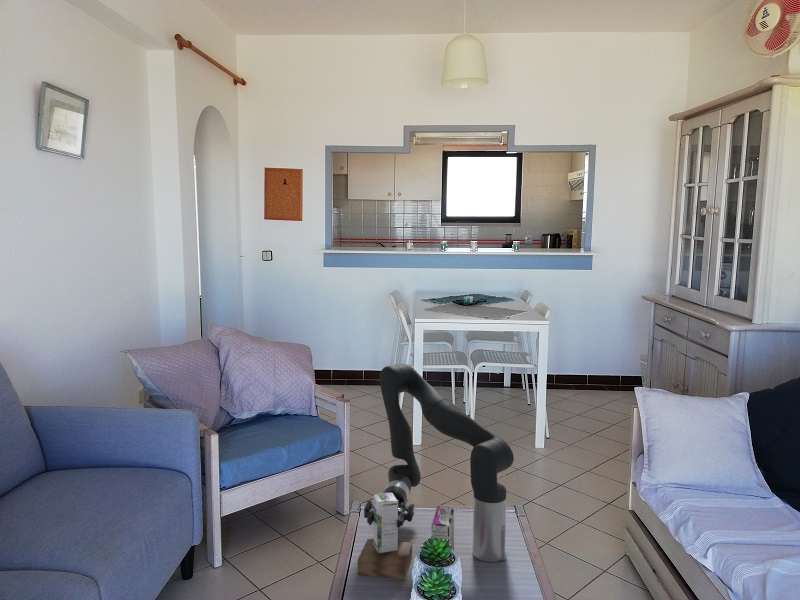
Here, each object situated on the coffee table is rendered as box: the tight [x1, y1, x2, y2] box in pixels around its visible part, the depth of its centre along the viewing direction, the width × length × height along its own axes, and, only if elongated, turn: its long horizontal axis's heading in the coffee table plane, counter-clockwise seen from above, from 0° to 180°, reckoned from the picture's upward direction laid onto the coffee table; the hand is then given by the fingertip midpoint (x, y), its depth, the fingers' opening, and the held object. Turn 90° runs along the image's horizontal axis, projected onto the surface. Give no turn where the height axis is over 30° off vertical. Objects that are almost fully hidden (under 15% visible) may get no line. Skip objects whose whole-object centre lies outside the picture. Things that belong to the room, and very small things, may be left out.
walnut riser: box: [357, 538, 413, 580], centre depth 171 cm, size 13×12×4 cm
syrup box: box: [372, 492, 399, 553], centre depth 170 cm, size 6×6×14 cm
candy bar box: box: [431, 505, 455, 552], centre depth 167 cm, size 11×5×16 cm, turn 168°
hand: (384, 523), depth 168 cm, fingers closed on syrup box, 7 cm apart
